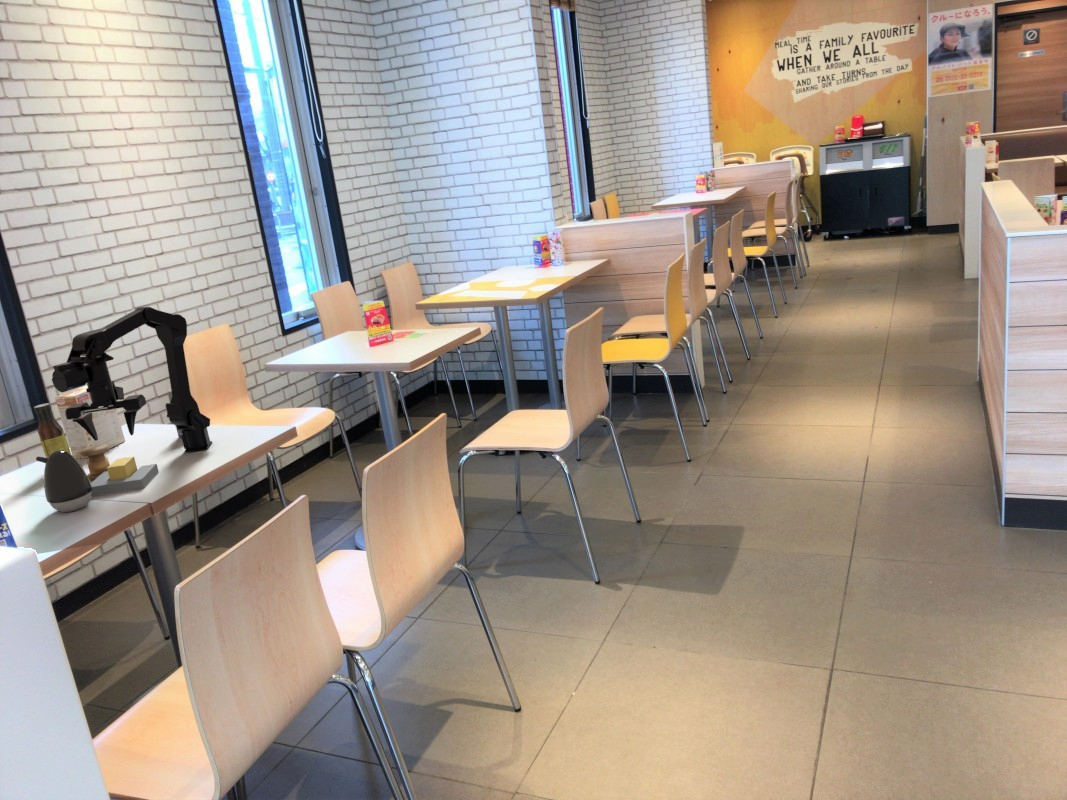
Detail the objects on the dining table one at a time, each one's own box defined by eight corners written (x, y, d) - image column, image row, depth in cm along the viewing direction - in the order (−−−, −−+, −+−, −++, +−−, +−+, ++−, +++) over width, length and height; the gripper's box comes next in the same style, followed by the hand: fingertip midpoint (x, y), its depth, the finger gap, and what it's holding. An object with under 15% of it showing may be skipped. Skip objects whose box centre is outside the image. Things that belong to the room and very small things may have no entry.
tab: (130, 486, 221) (124, 465, 219) (112, 489, 220) (106, 467, 219) (139, 477, 227) (133, 456, 226) (122, 479, 227) (116, 459, 225)
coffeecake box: (108, 441, 266) (91, 382, 261) (126, 441, 264) (110, 381, 259) (71, 459, 253) (53, 397, 247) (90, 458, 251) (72, 395, 245)
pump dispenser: (61, 503, 214) (44, 447, 210) (103, 497, 215) (86, 441, 211) (42, 519, 205) (24, 460, 200) (85, 513, 205) (68, 454, 201)
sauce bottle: (80, 466, 244) (61, 401, 238) (62, 474, 238) (42, 408, 233) (63, 466, 246) (44, 401, 240) (45, 474, 240) (25, 408, 235)
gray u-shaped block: (158, 472, 229) (156, 463, 228) (144, 488, 217) (141, 479, 217) (106, 480, 228) (103, 471, 227) (88, 496, 216) (86, 487, 216)
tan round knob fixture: (119, 469, 236) (111, 442, 234) (110, 478, 229) (102, 450, 227) (93, 473, 236) (86, 446, 233) (83, 482, 229) (75, 454, 227)
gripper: (145, 368, 227) (159, 423, 232) (74, 379, 226) (90, 433, 230) (131, 378, 217) (146, 435, 221) (56, 389, 215) (73, 446, 220)
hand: (114, 437), depth 223 cm, fingers open, 9 cm apart
